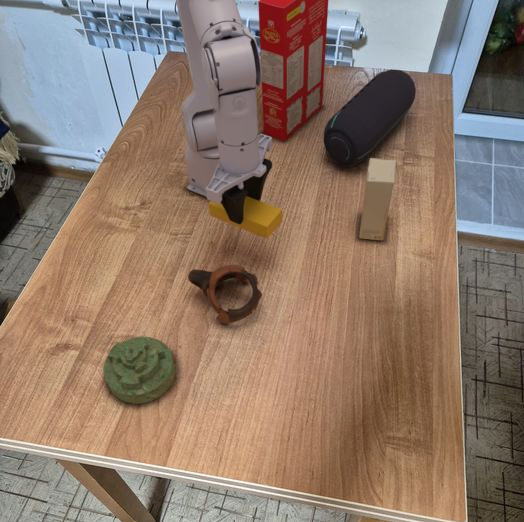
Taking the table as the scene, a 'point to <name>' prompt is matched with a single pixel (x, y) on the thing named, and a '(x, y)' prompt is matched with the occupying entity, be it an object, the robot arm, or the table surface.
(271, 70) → the food packaging
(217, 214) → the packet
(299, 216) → the table surface
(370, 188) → the cosmetic box
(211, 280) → the knobbed brown ring
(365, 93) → the portable speaker
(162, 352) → the decorative artifact
